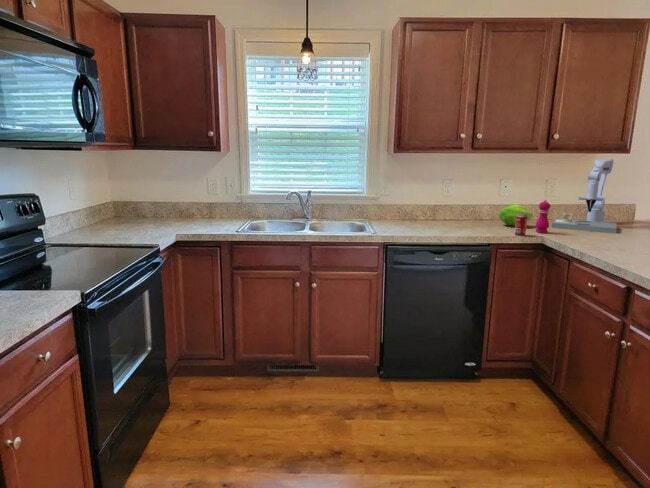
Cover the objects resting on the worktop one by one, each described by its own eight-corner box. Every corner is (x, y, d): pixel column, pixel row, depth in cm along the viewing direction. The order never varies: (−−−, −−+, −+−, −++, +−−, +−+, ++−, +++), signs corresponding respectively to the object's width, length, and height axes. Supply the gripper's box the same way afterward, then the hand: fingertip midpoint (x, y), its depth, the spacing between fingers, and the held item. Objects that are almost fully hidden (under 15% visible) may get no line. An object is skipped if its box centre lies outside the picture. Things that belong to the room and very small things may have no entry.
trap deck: (615, 227, 271) (616, 223, 270) (615, 233, 253) (616, 228, 252) (555, 222, 289) (556, 218, 288) (551, 227, 271) (552, 222, 271)
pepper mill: (537, 233, 252) (540, 199, 248) (533, 231, 259) (536, 198, 255) (550, 233, 251) (554, 200, 247) (545, 231, 258) (549, 198, 254)
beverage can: (518, 233, 252) (520, 213, 249) (527, 235, 247) (529, 214, 244) (512, 234, 249) (514, 214, 246) (520, 236, 244) (522, 215, 241)
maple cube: (571, 221, 276) (572, 213, 275) (571, 222, 272) (572, 214, 270) (563, 220, 278) (563, 213, 277) (562, 221, 274) (563, 214, 273)
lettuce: (534, 229, 267) (533, 208, 262) (500, 231, 275) (498, 212, 270) (532, 219, 280) (531, 200, 274) (499, 222, 287) (497, 203, 282)
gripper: (578, 190, 272) (576, 211, 275) (605, 191, 264) (602, 213, 267) (579, 189, 278) (576, 210, 281) (606, 190, 270) (603, 212, 273)
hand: (589, 211), depth 274 cm, fingers closed
